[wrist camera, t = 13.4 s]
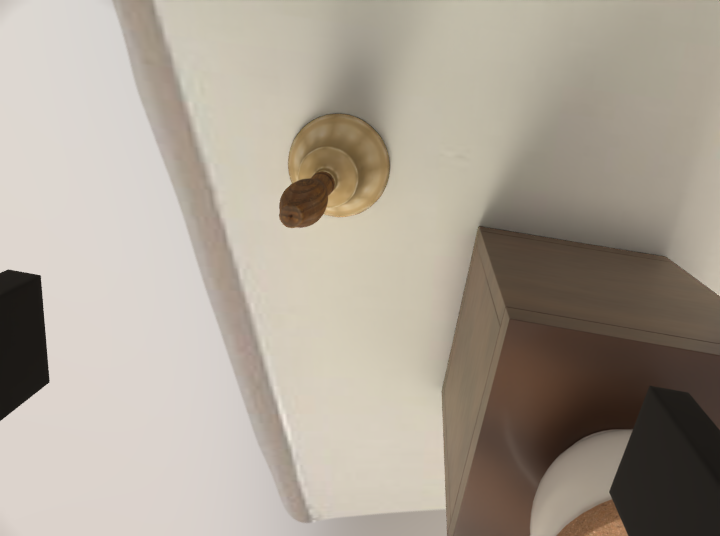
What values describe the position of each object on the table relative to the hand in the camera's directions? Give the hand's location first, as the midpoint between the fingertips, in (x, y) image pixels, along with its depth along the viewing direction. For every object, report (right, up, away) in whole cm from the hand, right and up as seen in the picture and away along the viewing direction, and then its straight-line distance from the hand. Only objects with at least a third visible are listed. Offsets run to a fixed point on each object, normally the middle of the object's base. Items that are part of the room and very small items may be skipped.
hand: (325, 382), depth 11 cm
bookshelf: (+17, -3, +34) cm, 38 cm away
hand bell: (-1, +11, +32) cm, 33 cm away
